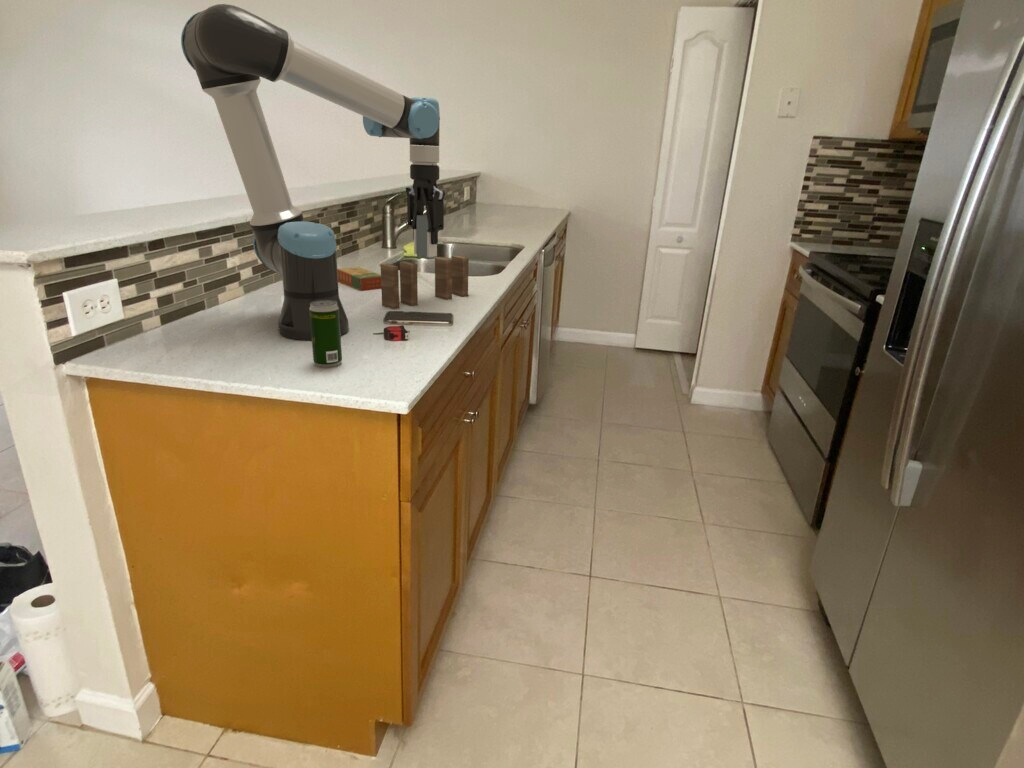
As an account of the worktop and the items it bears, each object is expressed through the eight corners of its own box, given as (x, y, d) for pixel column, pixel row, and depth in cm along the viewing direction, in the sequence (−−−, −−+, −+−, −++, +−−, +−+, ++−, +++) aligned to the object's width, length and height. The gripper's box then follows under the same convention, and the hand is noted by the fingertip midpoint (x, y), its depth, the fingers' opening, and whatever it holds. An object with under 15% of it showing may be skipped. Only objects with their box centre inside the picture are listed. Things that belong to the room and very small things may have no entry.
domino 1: (393, 309, 162) (391, 267, 158) (382, 305, 165) (380, 264, 162) (399, 308, 164) (398, 266, 160) (388, 304, 167) (386, 263, 163)
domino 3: (428, 259, 166) (428, 217, 162) (416, 256, 169) (416, 215, 166) (434, 258, 168) (434, 216, 164) (422, 256, 171) (422, 214, 167)
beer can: (347, 364, 121) (344, 303, 117) (323, 370, 118) (318, 308, 113) (332, 357, 125) (328, 298, 120) (308, 363, 121) (303, 302, 117)
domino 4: (446, 299, 174) (446, 260, 170) (435, 296, 178) (434, 257, 174) (451, 298, 176) (452, 259, 172) (440, 295, 179) (440, 257, 175)
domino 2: (411, 306, 166) (411, 264, 162) (400, 302, 169) (399, 261, 166) (417, 305, 168) (417, 264, 164) (406, 301, 171) (405, 261, 167)
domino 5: (462, 296, 178) (463, 258, 174) (451, 293, 182) (451, 255, 178) (468, 296, 180) (468, 257, 176) (456, 292, 183) (457, 255, 179)
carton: (360, 279, 197) (359, 266, 195) (386, 289, 186) (385, 275, 184) (335, 282, 192) (335, 268, 190) (360, 292, 181) (360, 277, 179)
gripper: (458, 165, 157) (457, 258, 165) (414, 162, 168) (415, 249, 177) (435, 165, 152) (435, 261, 160) (391, 162, 163) (394, 251, 172)
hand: (425, 254), depth 168 cm, fingers closed on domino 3, 5 cm apart
